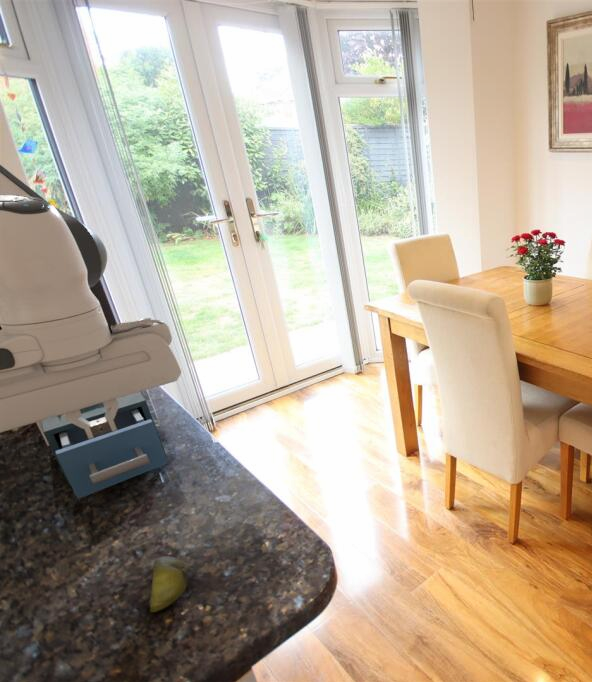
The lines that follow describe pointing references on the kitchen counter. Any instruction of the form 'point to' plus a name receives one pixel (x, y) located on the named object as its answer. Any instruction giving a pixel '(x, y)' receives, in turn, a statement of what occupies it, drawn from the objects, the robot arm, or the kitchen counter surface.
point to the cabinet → (92, 413)
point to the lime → (167, 582)
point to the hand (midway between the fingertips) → (102, 433)
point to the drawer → (110, 453)
